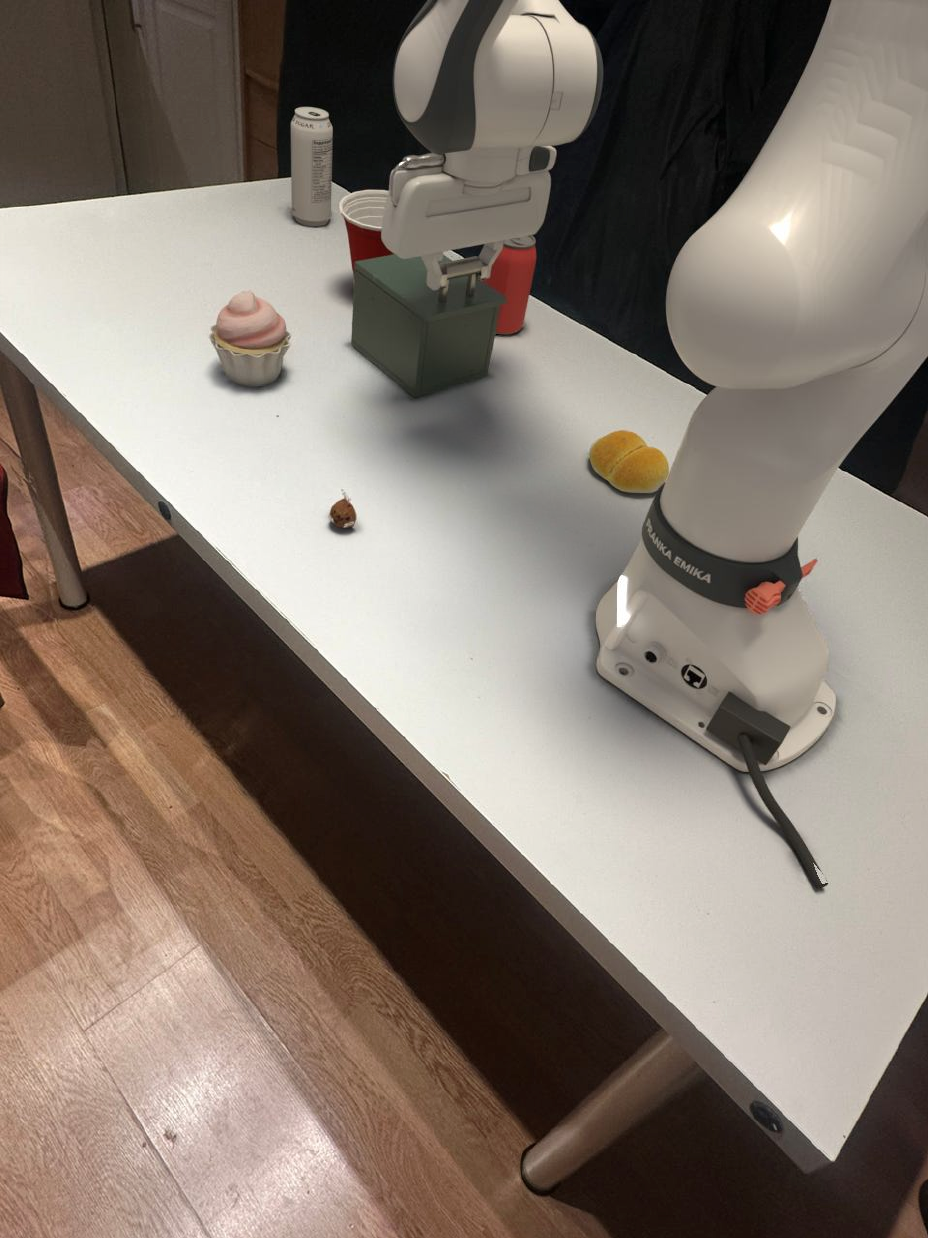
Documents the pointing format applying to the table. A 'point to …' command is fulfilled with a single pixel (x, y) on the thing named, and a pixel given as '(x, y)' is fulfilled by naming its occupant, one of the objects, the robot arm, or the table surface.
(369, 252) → the plastic cup
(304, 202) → the energy drink can
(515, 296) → the beer can
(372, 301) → the bin
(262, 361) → the cupcake
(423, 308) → the bin lid
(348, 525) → the chocolate
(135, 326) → the table surface
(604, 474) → the bread roll
